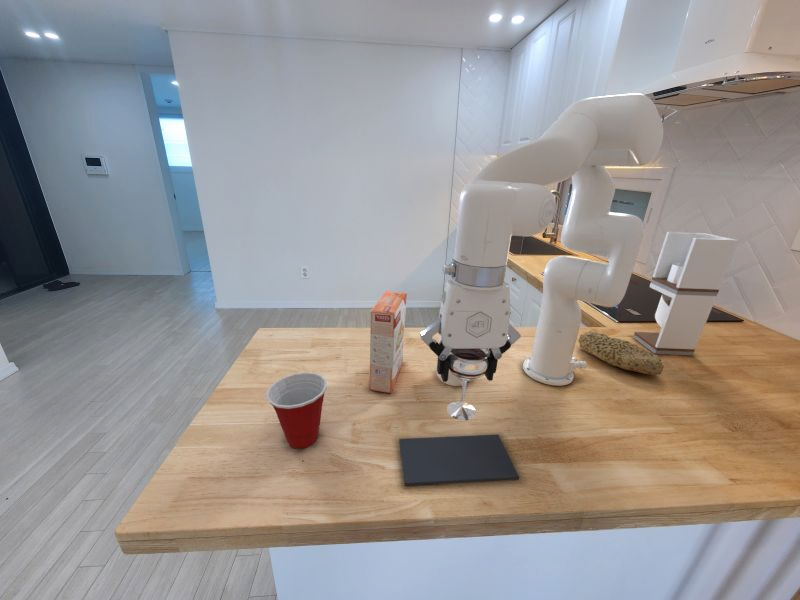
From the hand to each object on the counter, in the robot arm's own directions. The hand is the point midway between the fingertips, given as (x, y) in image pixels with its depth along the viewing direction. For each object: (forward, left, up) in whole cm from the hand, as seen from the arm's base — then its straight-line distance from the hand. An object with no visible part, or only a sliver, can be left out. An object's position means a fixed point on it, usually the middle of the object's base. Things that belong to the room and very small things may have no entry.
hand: (465, 375), depth 55 cm
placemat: (0, 0, -18) cm, 18 cm away
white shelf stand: (-77, -40, -18) cm, 89 cm away
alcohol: (-6, -26, -18) cm, 32 cm away
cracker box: (+11, -27, -18) cm, 34 cm away
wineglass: (0, 0, -7) cm, 7 cm away
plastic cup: (+29, -7, -18) cm, 35 cm away
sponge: (-55, -31, -18) cm, 66 cm away
